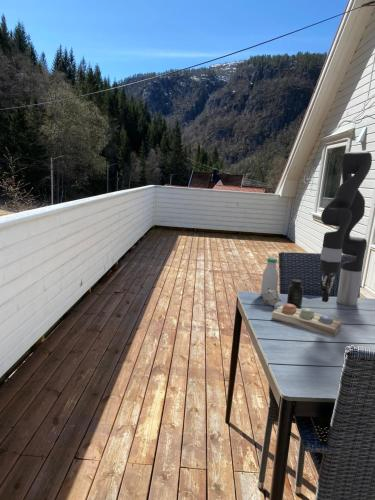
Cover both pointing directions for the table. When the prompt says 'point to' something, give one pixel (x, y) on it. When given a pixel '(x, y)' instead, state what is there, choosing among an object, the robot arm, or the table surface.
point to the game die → (271, 297)
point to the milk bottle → (270, 276)
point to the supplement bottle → (295, 293)
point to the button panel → (307, 321)
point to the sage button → (307, 313)
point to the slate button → (325, 319)
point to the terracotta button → (289, 308)
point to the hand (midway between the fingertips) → (324, 301)
